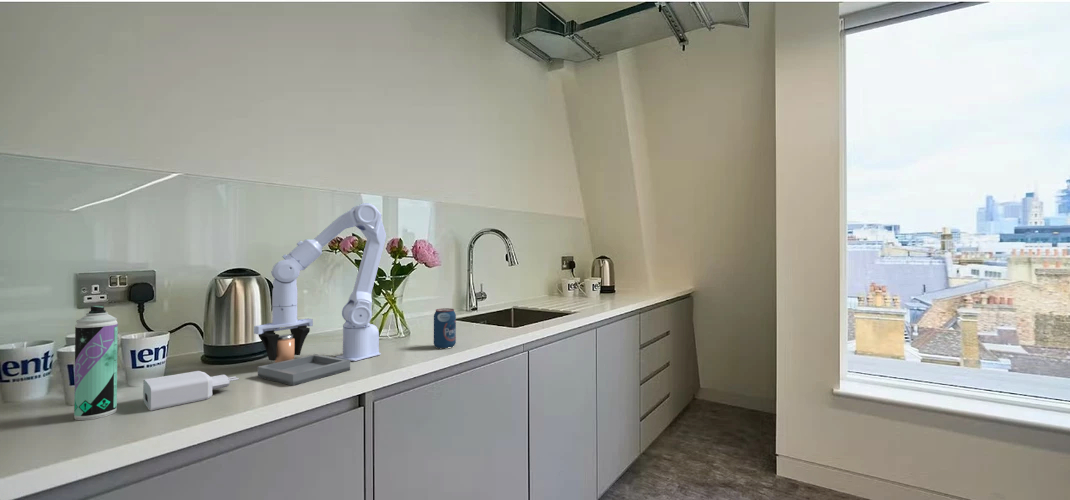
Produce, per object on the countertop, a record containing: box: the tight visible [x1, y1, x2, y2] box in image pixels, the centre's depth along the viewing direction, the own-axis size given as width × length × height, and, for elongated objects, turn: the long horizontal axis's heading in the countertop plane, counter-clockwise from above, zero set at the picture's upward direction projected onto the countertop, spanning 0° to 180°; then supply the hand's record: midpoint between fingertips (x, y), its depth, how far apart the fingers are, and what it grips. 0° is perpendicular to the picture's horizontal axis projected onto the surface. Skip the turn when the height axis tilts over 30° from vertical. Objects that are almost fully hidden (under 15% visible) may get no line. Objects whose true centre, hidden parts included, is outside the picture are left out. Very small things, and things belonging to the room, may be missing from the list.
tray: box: [257, 353, 351, 387], centre depth 107 cm, size 15×14×2 cm
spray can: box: [73, 305, 119, 421], centre depth 79 cm, size 6×6×20 cm
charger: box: [142, 370, 239, 412], centre depth 89 cm, size 5×9×15 cm
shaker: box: [274, 333, 296, 363], centre depth 113 cm, size 4×4×8 cm
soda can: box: [433, 307, 457, 349], centre depth 138 cm, size 7×7×12 cm
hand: (284, 357), depth 113 cm, fingers open, 6 cm apart
